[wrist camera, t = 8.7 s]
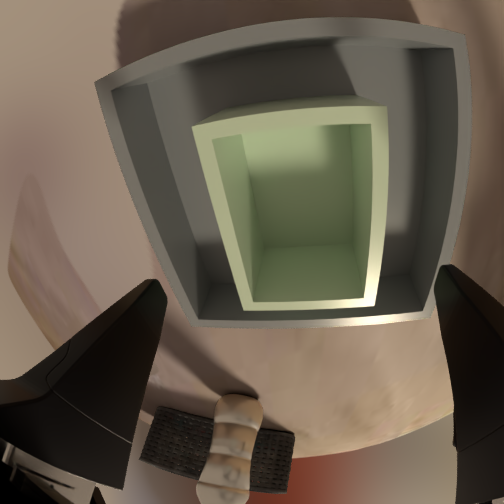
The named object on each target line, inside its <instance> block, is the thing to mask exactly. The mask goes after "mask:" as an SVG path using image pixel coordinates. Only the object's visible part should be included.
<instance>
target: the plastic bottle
mask: <svg viewBox="0 0 504 504" xmlns="http://www.w3.org/2000/svg"><path fill="white" fill-rule="evenodd" d="M262 419H263V407H262V406H261V404H260V402H259V401H258V400H256V399H254V398H252V397H249V396H244V395H238V394H228V395H224V396H223V397H222V398H220V399H219V400H218V402H217V405H216V407H215V411H214V429H213V436H212V443H211V447H210V451H209V452H210V453H209V455H208V457H207V461H206V464H205V466H204V469H203V471H202V473H201V476H200V478H199V482H198V483H197V486H196V491H197V496H198V498H199V500H200V502H201V504H245V503H246V502H247V500H248V498H249V489H250V466H251V462H250V461H251V458H252V451H253V447H254V444H255V440H256V436H257V431H258V430H259V428H260V426H261V423H262Z"/></svg>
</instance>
